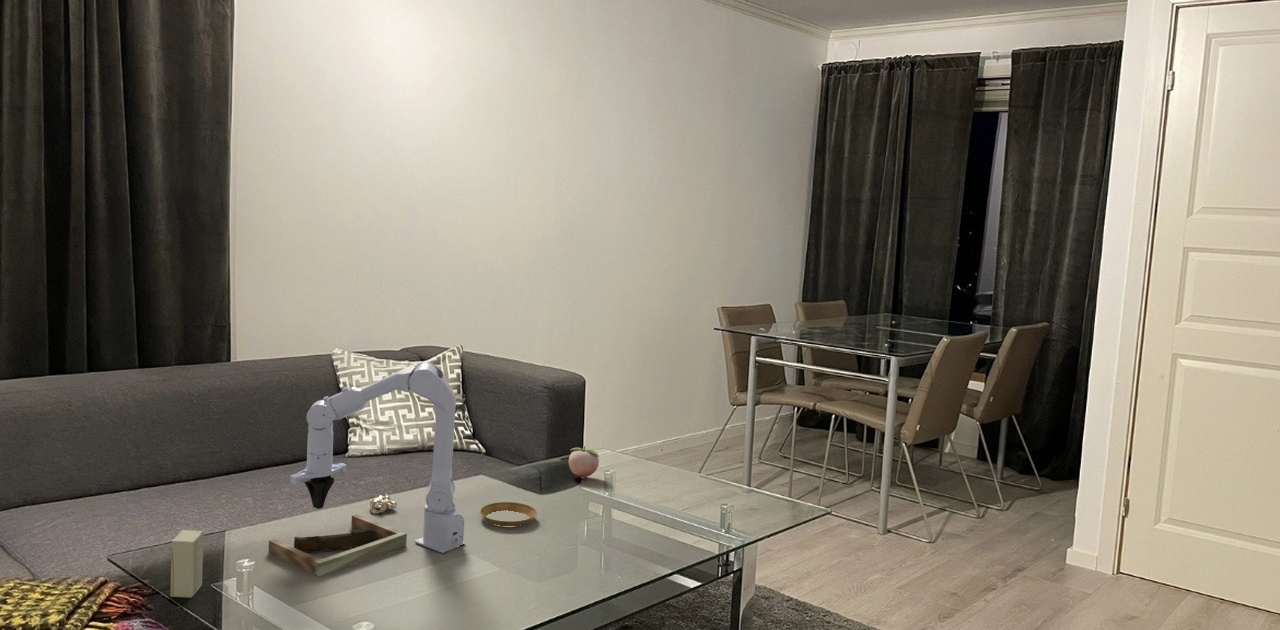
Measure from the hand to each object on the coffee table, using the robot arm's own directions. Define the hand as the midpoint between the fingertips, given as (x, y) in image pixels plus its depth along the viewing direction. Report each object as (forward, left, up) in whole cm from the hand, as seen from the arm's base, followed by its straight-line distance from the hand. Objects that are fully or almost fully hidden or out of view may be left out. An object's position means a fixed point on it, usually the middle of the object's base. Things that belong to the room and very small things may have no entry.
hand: (317, 507), depth 234 cm
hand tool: (-7, 0, -9) cm, 11 cm away
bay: (-8, 0, -8) cm, 11 cm away
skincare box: (-4, +35, -8) cm, 37 cm away
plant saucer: (-22, -43, -9) cm, 49 cm away
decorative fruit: (-14, -85, -8) cm, 87 cm away
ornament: (+5, -25, -9) cm, 27 cm away
